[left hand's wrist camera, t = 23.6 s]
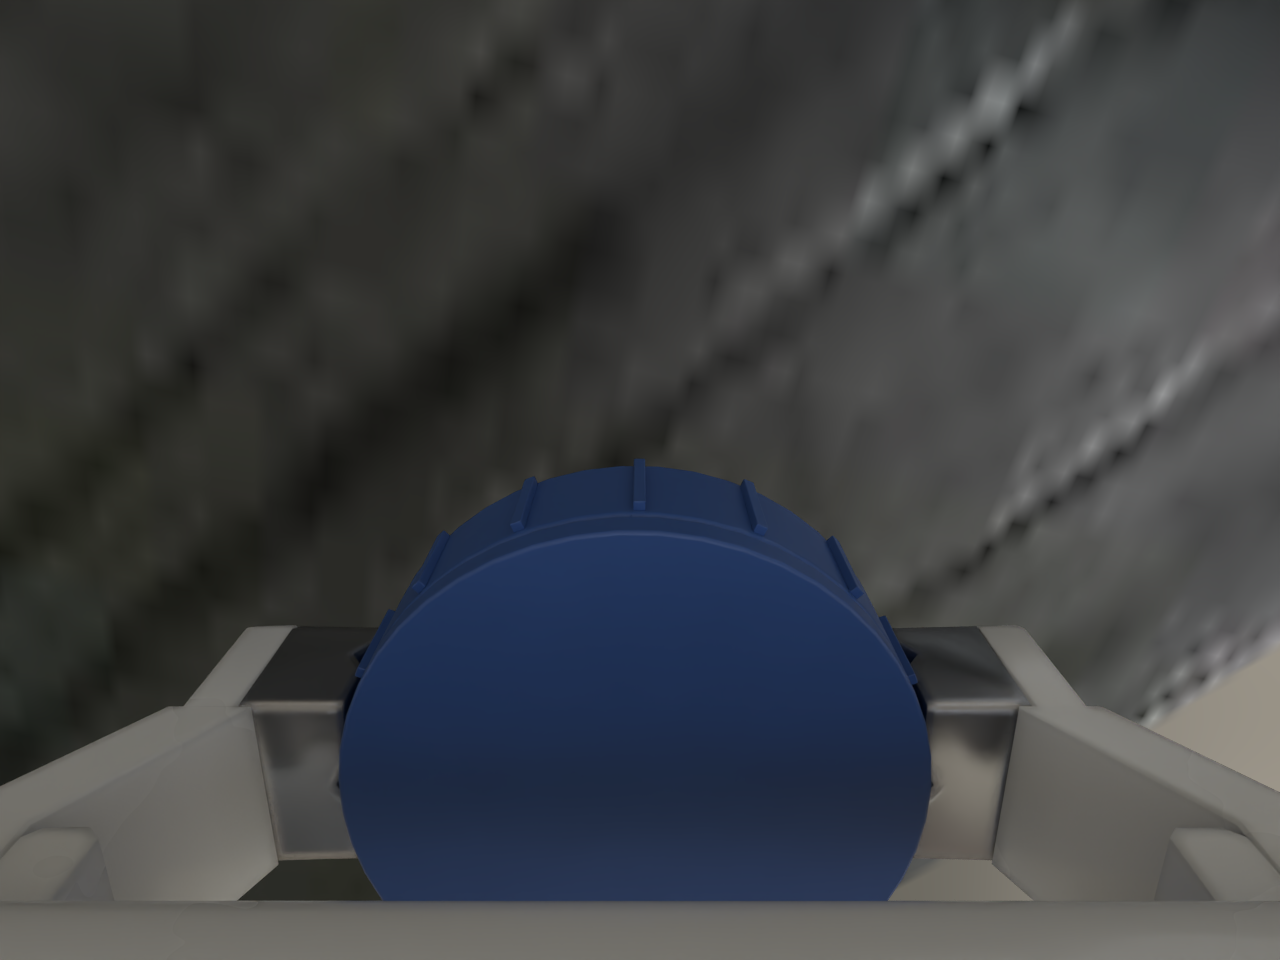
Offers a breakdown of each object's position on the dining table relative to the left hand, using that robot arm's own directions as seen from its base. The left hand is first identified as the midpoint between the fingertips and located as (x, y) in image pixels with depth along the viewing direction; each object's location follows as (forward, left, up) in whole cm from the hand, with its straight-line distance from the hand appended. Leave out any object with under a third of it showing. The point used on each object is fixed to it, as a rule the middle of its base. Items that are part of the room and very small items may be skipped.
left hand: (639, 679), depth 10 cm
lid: (0, 0, +2) cm, 2 cm away
